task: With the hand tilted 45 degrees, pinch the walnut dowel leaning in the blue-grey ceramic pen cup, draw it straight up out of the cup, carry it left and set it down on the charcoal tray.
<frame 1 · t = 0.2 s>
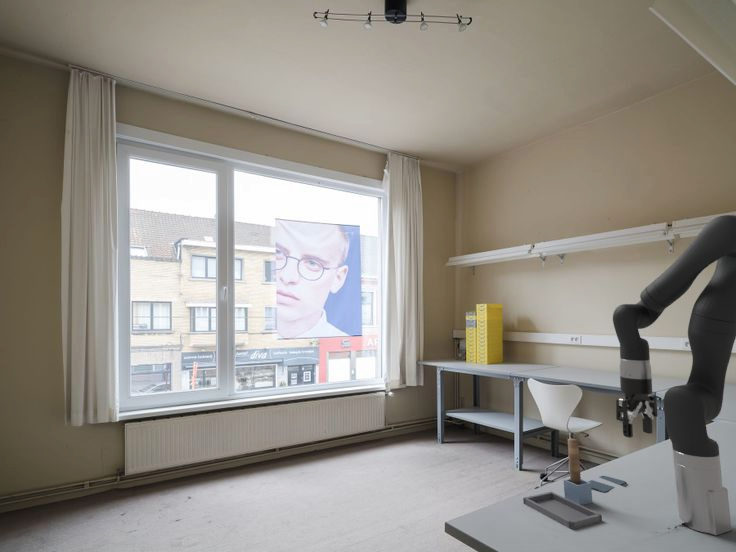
hand: (638, 434, 119), 18 cm above the table, tool pointing down, fingers open, 8 cm apart
dowel: (576, 500, 117), point 1 cm above the table, touching cup
cup: (578, 504, 117), on the table
tray: (561, 515, 110), on the table
smartphone: (604, 489, 129), on the table
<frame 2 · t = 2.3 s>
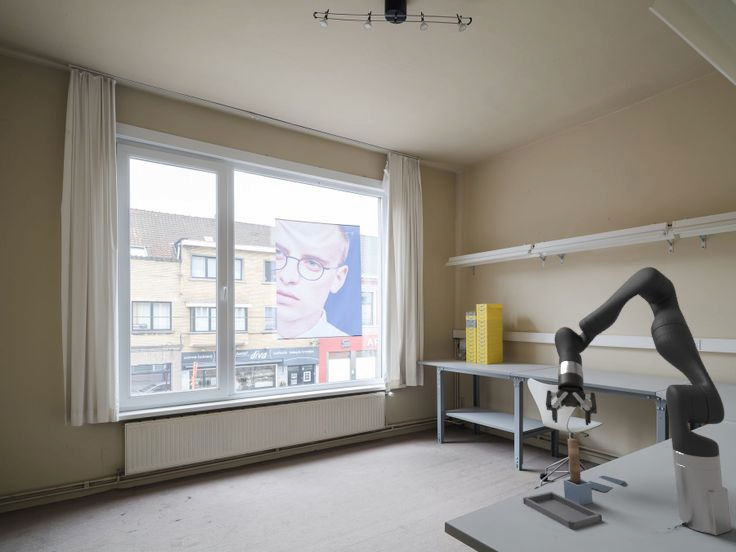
hand: (571, 422, 129), 19 cm above the table, tool tilted 45°, fingers open, 8 cm apart
nothing on the table moved.
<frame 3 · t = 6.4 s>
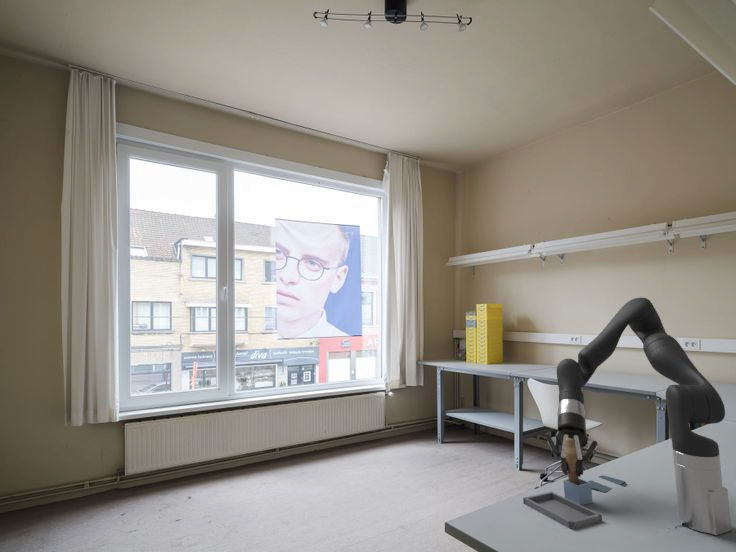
hand: (572, 474, 116), 8 cm above the table, tool tilted 45°, fingers closed on dowel, 2 cm apart
dowel: (575, 500, 117), point 1 cm above the table, touching cup, gripper
everything else where it was.
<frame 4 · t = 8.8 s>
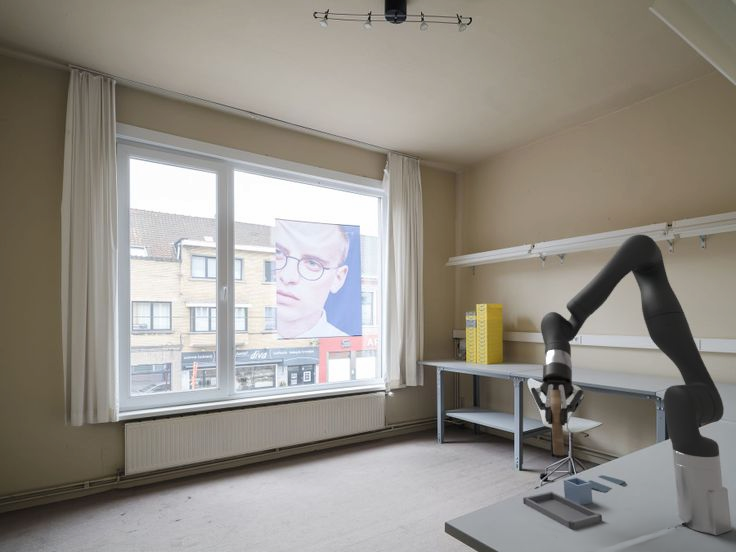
hand: (556, 422, 111), 24 cm above the table, tool tilted 45°, fingers closed on dowel, 2 cm apart
dowel: (558, 454, 110), point 16 cm above the table, tilted 8°, touching gripper
everything else where it was.
when the fingers open (10 cm above the table, at t = 11.6 s): dowel stays where it is, resting on tray.
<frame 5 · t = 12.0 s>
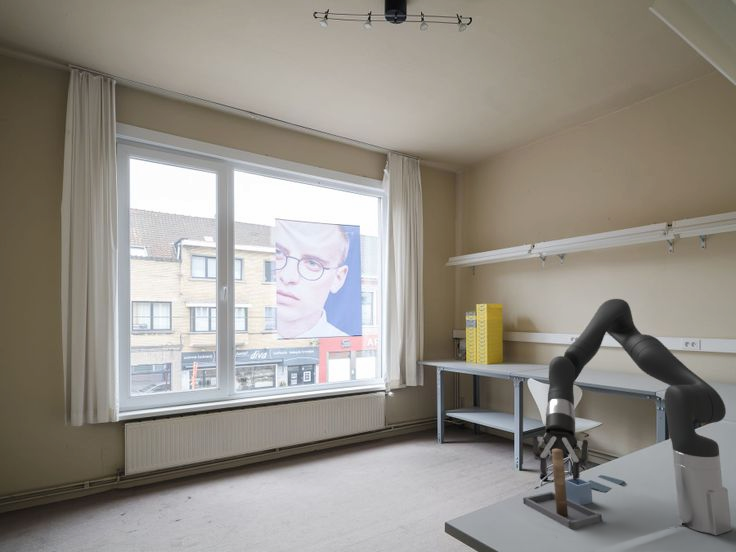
hand: (559, 476, 110), 10 cm above the table, tool tilted 45°, fingers open, 6 cm apart
dowel: (562, 514, 109), point 1 cm above the table, touching tray
everything else where it was.
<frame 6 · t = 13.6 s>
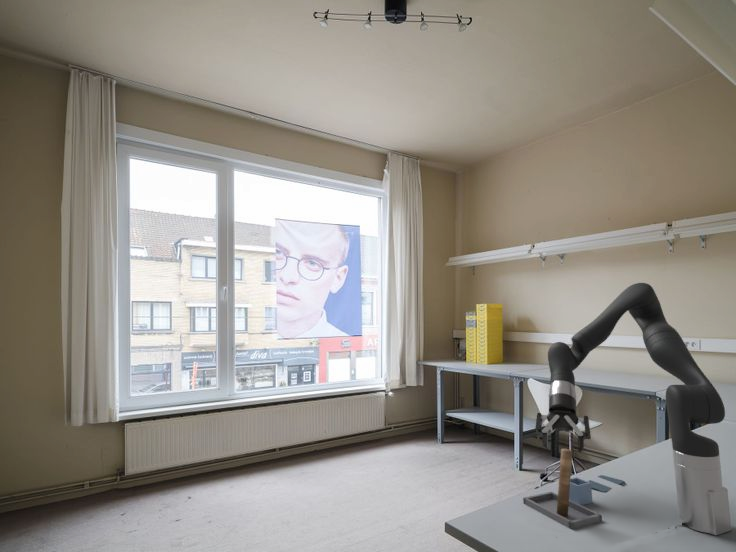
hand: (562, 449, 119), 14 cm above the table, tool tilted 45°, fingers open, 8 cm apart
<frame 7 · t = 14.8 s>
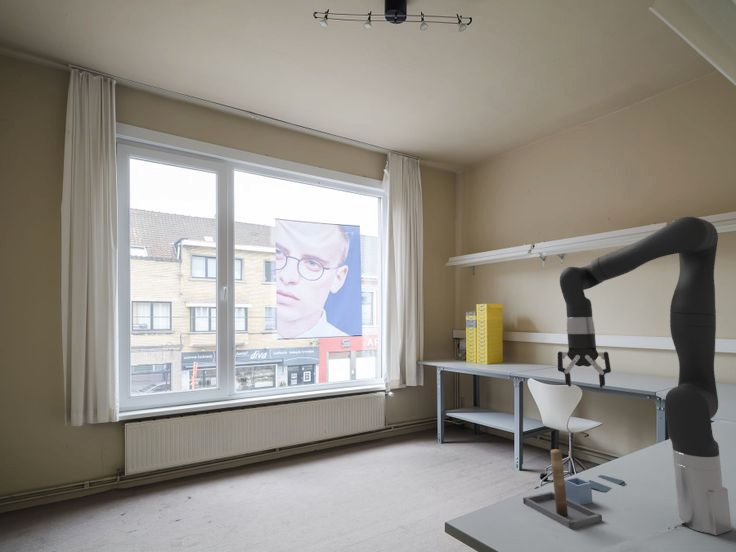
hand: (585, 386, 129), 30 cm above the table, tool pointing down, fingers open, 8 cm apart
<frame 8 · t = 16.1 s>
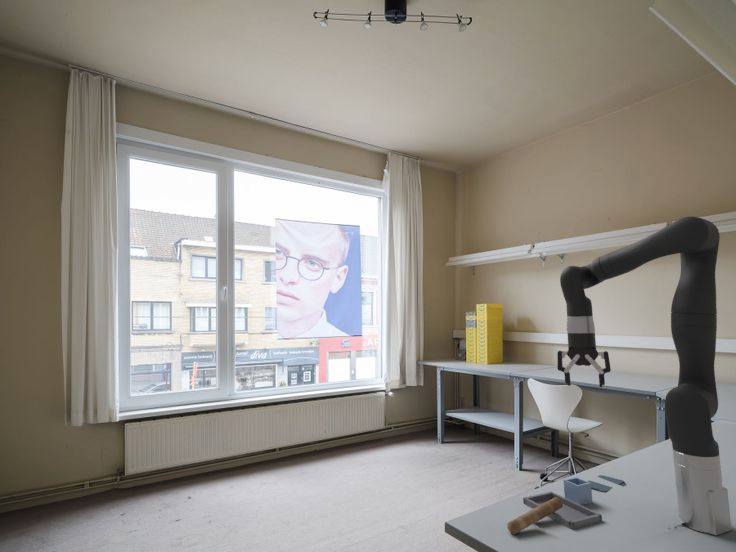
hand: (584, 386, 129), 30 cm above the table, tool pointing down, fingers open, 8 cm apart
dowel: (558, 502, 109), point 4 cm above the table, tilted 101°, touching tray
everything else where it was.
at the end: dowel inside the target area on the tray (2.8 cm from its centre), point 4.2 cm above the tray's base; dowel touching table, tray; the gripper is holding nothing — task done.
